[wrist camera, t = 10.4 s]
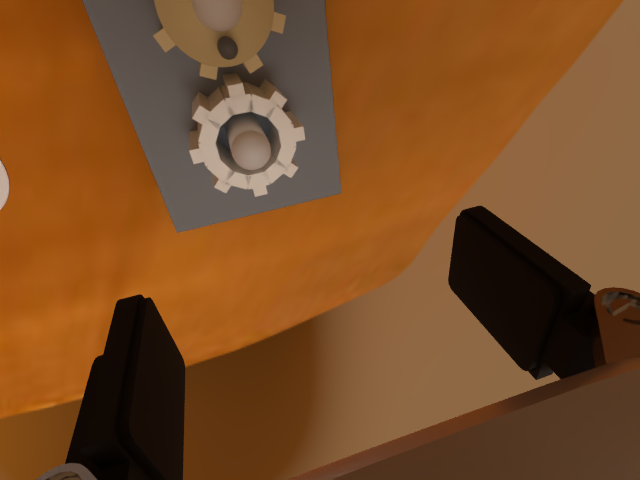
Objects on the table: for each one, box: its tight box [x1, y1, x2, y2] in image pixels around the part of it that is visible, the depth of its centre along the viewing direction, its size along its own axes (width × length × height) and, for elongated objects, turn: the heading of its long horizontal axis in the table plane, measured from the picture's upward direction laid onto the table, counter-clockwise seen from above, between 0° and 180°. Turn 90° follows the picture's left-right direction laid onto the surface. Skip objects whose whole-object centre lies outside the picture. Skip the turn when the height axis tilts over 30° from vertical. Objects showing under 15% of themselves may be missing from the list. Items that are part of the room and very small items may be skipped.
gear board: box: [82, 0, 341, 233], centre depth 22 cm, size 22×14×8 cm, turn 7°
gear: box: [189, 72, 305, 197], centre depth 25 cm, size 7×7×4 cm
